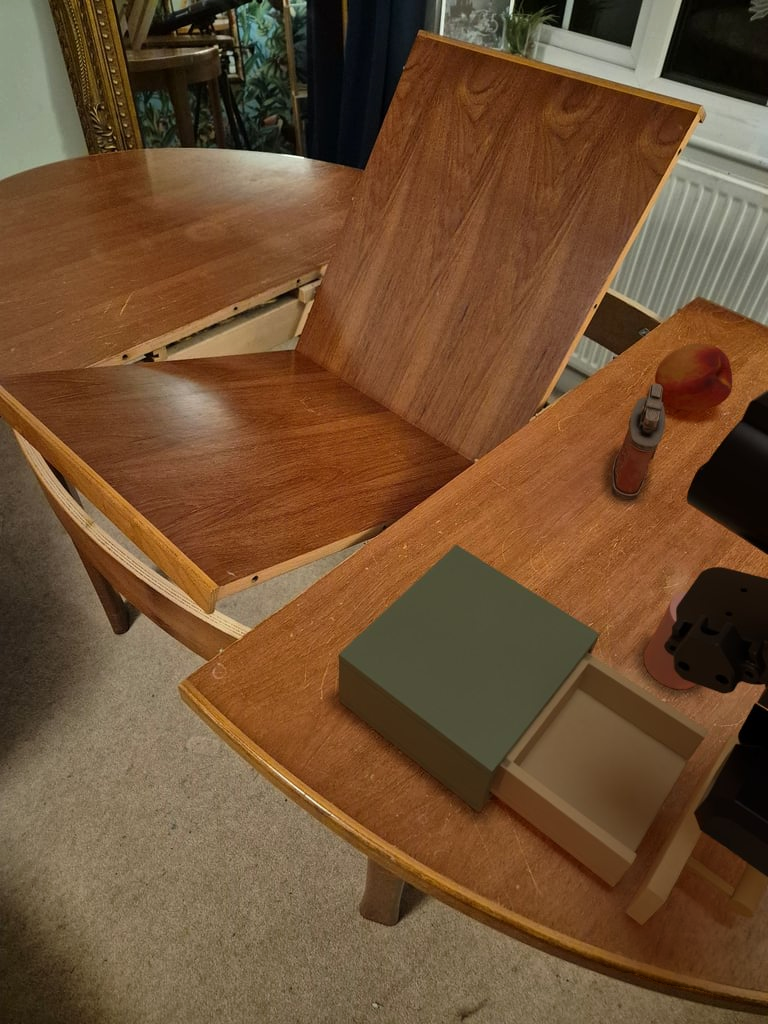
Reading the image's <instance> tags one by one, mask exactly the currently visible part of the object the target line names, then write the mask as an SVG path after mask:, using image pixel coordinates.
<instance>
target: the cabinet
mask: <svg viewBox="0 0 768 1024" xmlns="http://www.w3.org/2000/svg"><path fill="white" fill-rule="evenodd" d="M599 637H600V633H599V632H597V631H596V630H594V629H593V628H591V627H590V626H588V625H587V624H585V623H584V622H582V621H580V620H579V619H577V618H575V617H573V615H570V614H568V613H567V612H565V611H564V610H562V609H561V608H559V607H557V606H556V605H555V604H553V603H551V602H550V601H548V600H546V599H545V598H543V597H541V596H540V595H539V594H537V593H535V592H534V591H532V590H530V589H529V588H527V587H525V586H524V585H522V584H521V583H519V582H518V581H516V580H515V579H513V578H511V577H509V576H508V575H506V574H505V573H503V572H501V571H500V570H499V569H497V568H495V567H493V565H492V566H491V565H490V564H488V563H487V562H485V561H484V560H482V559H481V558H479V557H477V556H475V555H474V554H473V553H471V552H469V551H467V550H466V549H464V548H463V547H462V546H459V545H458V544H455V545H454V546H452V548H450V550H448V551H447V552H446V553H445V554H444V555H443V556H442V557H441V558H439V560H437V562H436V563H434V565H432V566H431V567H430V568H429V569H428V570H427V571H426V572H425V573H424V574H422V576H420V577H419V578H418V579H417V580H416V581H415V582H414V583H413V584H412V585H411V586H409V588H407V589H406V591H405V592H403V593H402V594H400V596H399V597H398V598H397V599H396V600H395V601H394V602H393V603H392V604H391V605H390V606H389V607H387V608H386V609H385V610H384V611H383V612H382V613H381V614H380V615H378V617H376V619H374V620H373V621H372V622H371V623H370V624H369V625H368V626H367V627H366V628H365V629H364V630H362V632H361V633H360V634H358V635H357V636H356V637H355V638H354V639H353V640H352V641H351V642H350V643H349V644H348V645H346V646H345V648H343V649H342V650H341V651H340V652H339V653H338V702H340V704H342V705H343V706H344V707H346V708H347V709H348V710H350V711H351V712H352V713H353V714H354V715H356V716H357V717H359V719H361V720H362V721H363V722H365V724H367V725H368V726H370V727H371V728H372V729H373V730H374V731H376V732H377V733H378V734H379V735H381V737H383V738H384V739H386V740H387V741H388V742H390V743H391V744H392V746H394V747H396V748H397V749H398V750H399V751H401V752H402V753H403V754H404V755H406V756H407V757H408V758H409V759H410V760H412V761H413V762H414V763H416V764H417V765H418V766H419V767H421V768H422V769H423V770H424V771H426V772H427V773H428V774H429V775H430V776H432V777H433V778H434V779H435V780H437V781H438V782H439V783H441V784H442V785H443V786H444V787H445V788H447V790H449V791H450V792H452V793H453V794H454V795H456V796H457V797H458V798H459V799H460V800H462V801H463V802H465V804H467V805H468V806H469V807H471V808H472V809H473V810H474V811H475V812H477V813H480V812H481V811H482V809H483V808H484V807H485V806H486V804H487V803H488V802H489V800H491V798H492V796H493V795H494V794H493V793H492V792H490V791H489V790H490V787H491V785H492V782H493V779H494V776H495V773H496V769H497V768H498V767H499V766H500V764H501V763H502V762H503V760H504V759H505V758H506V757H507V755H508V754H509V753H510V751H511V750H512V749H513V748H514V746H515V745H516V744H517V742H518V741H519V740H520V739H521V737H522V736H523V735H524V733H525V732H526V731H527V730H528V728H529V727H530V726H531V724H532V723H533V722H534V721H535V719H536V718H537V717H538V715H539V714H540V713H541V712H542V710H543V709H544V708H545V706H546V705H547V704H548V703H549V701H550V700H551V699H552V697H553V696H554V695H555V694H556V692H557V691H558V690H559V688H560V687H561V686H562V685H563V683H564V682H565V681H566V679H567V678H568V677H569V676H570V674H571V673H572V672H573V670H574V669H575V668H576V667H577V665H578V664H579V663H580V661H581V660H582V659H583V658H584V656H585V655H586V654H587V653H589V654H591V655H592V653H593V651H594V648H595V646H596V644H597V642H598V640H599Z"/></svg>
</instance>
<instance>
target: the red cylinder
mask: <svg viewBox="0 0 768 1024" xmlns="http://www.w3.org/2000/svg"><path fill="white" fill-rule="evenodd" d="M687 591H688V590H685V591H681V592H679V593H677V594H675V595H674V596H673V597H672V598H671V601H670V602H669V604H668V606H667V608H666V610H665V612H664V614H663V616H662V617H661V619H660V621H659V623H658V626H657V627H656V628H655V631H654V633H653V635H652V637H651V639H650V641H649V643H647V644H648V645H647V646H646V649H645V650H644V653H643V662H644V667H645V668H646V670H647V672H648V673H649V675H650V676H651V677H652V678H653V679H654V680H656V681H657V682H658V683H659V684H661V685H662V686H665V687H667V688H670V689H675V690H687V689H691V688H694V687H695V686H696V685H697V684H695V683H692V682H689V681H686V680H684V679H682V678H681V677H680V676H679V675H678V674H677V673H676V671H675V670H674V656H672V655H670V654H669V653H668V652H667V651H666V650H665V648H664V644H665V643H666V641H667V640H668V638H669V637H670V635H671V634H672V626H673V625H674V623H675V622H676V608H677V606H678V604H679V603H680V601H681V600H682V598H683V597H684V596H685V594H686V593H687Z"/></svg>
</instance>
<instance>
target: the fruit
mask: <svg viewBox="0 0 768 1024" xmlns="http://www.w3.org/2000/svg"><path fill="white" fill-rule="evenodd" d="M654 382H655V384H660V385H661V387H662V397H661V399H662V400H663V403H664V404H666V405H667V406H670V407H671V408H674V409H676V410H679V411H684V412H689V413H700V412H704V411H707V410H708V411H709V410H711V409H713V408H715V407H718V406H719V405H721V404H722V403H724V402H725V401H726V400H727V399H728V398H729V397H730V395H731V393H732V391H733V390H732V389H733V372H732V367H731V363H730V360H729V358H728V356H727V354H726V353H725V352H723V350H722V349H720V348H719V347H717V346H715V345H712V344H708V343H690V344H686V345H683V346H681V347H678V348H676V349H675V350H673V351H672V352H670V353H669V354H667V355H666V356H665V357H664V358H663V359H662V360H661V361H660V363H659V364H658V366H657V368H656V371H655V375H654Z"/></svg>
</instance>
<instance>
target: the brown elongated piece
mask: <svg viewBox="0 0 768 1024" xmlns="http://www.w3.org/2000/svg"><path fill="white" fill-rule="evenodd" d="M665 428H666V412H665V406H664V401H663V402H662V387H661V385H660V384H656V383H652V384H651V385H650V386H649V389H648V392H647V396H645V397H640V398H638V400H637V401H636V402H635V404H634V406H633V408H632V411H631V414H630V417H629V421H628V428H627V431H626V434H625V436H624V439H623V442H622V445H621V448H620V449H619V451H618V453H617V454H616V456H615V459H614V462H613V464H612V468H611V471H610V489H611V493H612V495H613V496H614V497H615V498H616V499H618V500H622V501H623V502H633V501H635V500H636V499H637V498H638V496H639V494H640V492H641V490H642V488H643V485H644V482H645V478H646V472H647V470H648V467H649V464H650V462H651V461H652V460H653V459H654V457H655V455H656V452H657V450H658V446H659V444H660V443H661V440H662V438H663V435H664V432H665Z"/></svg>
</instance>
